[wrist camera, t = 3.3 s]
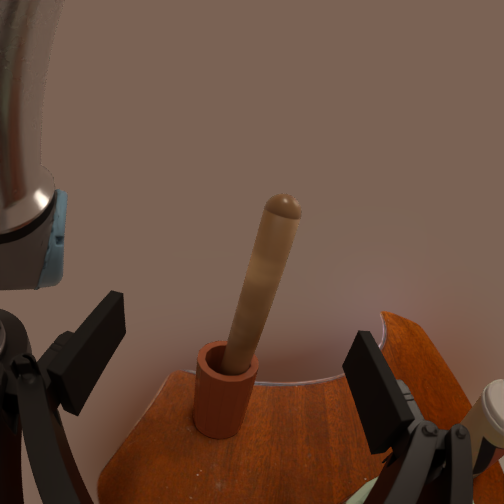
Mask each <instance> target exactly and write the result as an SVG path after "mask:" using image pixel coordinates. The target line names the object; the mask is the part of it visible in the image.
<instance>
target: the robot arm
mask: <svg viewBox="0 0 504 504" xmlns="http://www.w3.org/2000/svg"><path fill="white" fill-rule="evenodd" d="M64 1H65V0H0V290H22V289H34V290H38V289H39V288H41V287H50V286H55V285H57V284H58V283H59V282H60V281H61V279H62V277H63V257H64V256H63V255H64V232H65V220H66V208H67V193H66V192H65V191H61V190H59V189H57V190H55V184H54V178H53V176H52V174H51V173H50V171H49V170H47V168H45V167H44V166H42V165H41V126H42V125H41V124H42V110H43V99H44V91H45V83H46V76H47V70H48V64H49V59H50V53H51V48H52V44H53V40H54V35H55V32H56V28H57V24H58V21H59V17H60V14H61V11H62V7H63V4H64ZM125 334H126V327H125V314H124V299H123V293H120V292H116V291H110V293H109V294H108V295H107V296H106V297H105V298H104V299H103V300H102V301H101V302H100V303H99V305H98V306H97V307H96V308H95V309H94V310H93V312H92V313H91V314H90V315H89V316H88V317H87V318H86V320H85V321H84V322H83V323H82V324H81V325H80V327H79V328H78V329H77V330H76V331H75V333H72V332H70V331H66V332H64V333H63V334H61V335H59V336H58V337H57V339H56V340H55V341H54V343H52V344H51V346H50V347H49V348H48V349H47V350H46V352H45V353H44V354H43V355H42V357H41V358H40V359H39V360H38V361H37V362H36V359H35V357H34V356H33V355H32V354H30V353H28V352H21V353H17V354H16V355H14V356H13V357H12V358H11V360H10V363H9V365H10V367H11V370H12V371H8V370H5V369H4V367H3V364H2V363H1V360H2V359H3V357H4V355H5V352H6V349H7V335H6V332H5V329H4V326H3V324H2V322H1V320H0V504H24V499H23V488H22V474H21V437H22V431H23V436H24V441H25V445H26V450H27V454H28V458H29V462H30V465H31V469H32V473H33V476H34V479H35V482H36V485H37V488H38V491H39V494H40V497H41V499H42V502H43V504H94V503H93V501H92V499H91V497H90V495H89V493H88V491H87V489H86V486H85V484H84V482H83V480H82V478H81V476H80V473H79V471H78V468H77V466H76V463H75V460H74V458H73V455H72V453H71V450H70V447H69V444H68V441H67V438H66V435H65V431H64V428H63V425H62V421H61V418H60V414H59V411H58V409H57V408H58V406H59V405H60V403H61V405H62V407H63V409H64V410H65V411H67V412H69V413H71V414H74V415H76V416H78V415H79V413H80V412H81V410H82V408H83V406H84V404H85V402H86V400H87V399H88V397H89V395H90V393H91V391H92V390H93V388H94V386H95V384H96V382H97V381H98V379H99V377H100V376H101V374H102V372H103V370H104V369H105V367H106V365H107V363H108V362H109V360H110V359H111V357H112V355H113V354H114V352H115V350H116V349H117V347H118V345H119V344H120V342H121V340H122V339H123V337H124V336H125ZM342 367H343V370H344V373H345V375H346V378H347V381H348V384H349V387H350V390H351V393H352V396H353V399H354V402H355V405H356V408H357V411H358V414H359V417H360V420H361V423H362V426H363V429H364V432H365V436H366V439H367V442H368V445H369V448H370V452H371V455H372V454H379V453H385V452H386V451H387V450H388V449H389V448H390V447H392V450H393V452H392V453H391V454H390V455H388V456H387V457H386V458H385V459H384V460H383V462H382V463H384V462H386V463H385V465H384V467H383V469H382V471H381V473H380V475H379V477H378V479H377V480H376V482H375V484H374V486H373V487H372V489H371V491H370V493H369V494H368V496H367V498H366V499H365V501H364V502H363V504H473V465H472V450H471V439H470V433H469V431H468V429H467V428H466V427H465V426H464V425H461V424H455V425H453V426H452V428H451V429H450V430H440V429H438V427H437V426H436V425H435V424H434V423H432V422H431V421H427V420H426V421H425V420H424V418H423V416H422V414H421V412H420V410H419V408H418V406H417V404H416V402H415V400H414V398H413V396H412V395H411V392H410V390H409V388H408V387H407V385H406V384H405V383H404V382H403V381H402V380H396V379H395V377H394V375H393V373H392V371H391V369H390V367H389V366H388V364H387V362H386V360H385V358H384V356H383V354H382V353H381V351H380V349H379V347H378V345H377V343H376V342H375V340H374V338H373V336H372V334H371V333H370V331H358V333H357V335H356V337H355V339H354V342H353V344H352V346H351V349H350V350H349V352H348V355H347V357H346V359H345V361H344V363H343V365H342ZM445 462H446V465H445Z"/></svg>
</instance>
